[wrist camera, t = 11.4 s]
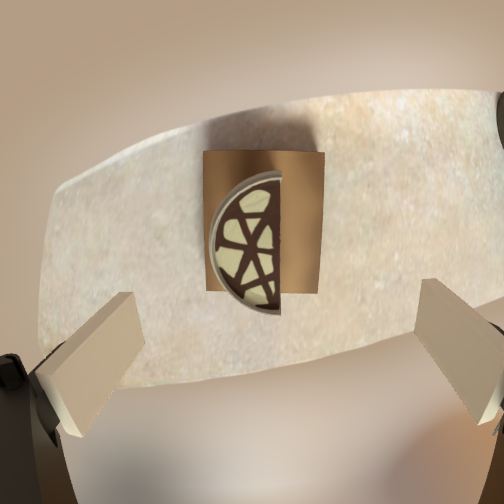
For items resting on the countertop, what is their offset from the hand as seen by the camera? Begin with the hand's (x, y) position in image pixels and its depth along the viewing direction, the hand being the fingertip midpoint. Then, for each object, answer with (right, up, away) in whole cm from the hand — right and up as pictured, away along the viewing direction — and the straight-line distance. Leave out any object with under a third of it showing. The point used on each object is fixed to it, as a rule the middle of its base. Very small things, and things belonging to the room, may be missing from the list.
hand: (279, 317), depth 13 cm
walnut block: (0, +7, +25) cm, 26 cm away
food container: (-1, +6, +21) cm, 22 cm away
